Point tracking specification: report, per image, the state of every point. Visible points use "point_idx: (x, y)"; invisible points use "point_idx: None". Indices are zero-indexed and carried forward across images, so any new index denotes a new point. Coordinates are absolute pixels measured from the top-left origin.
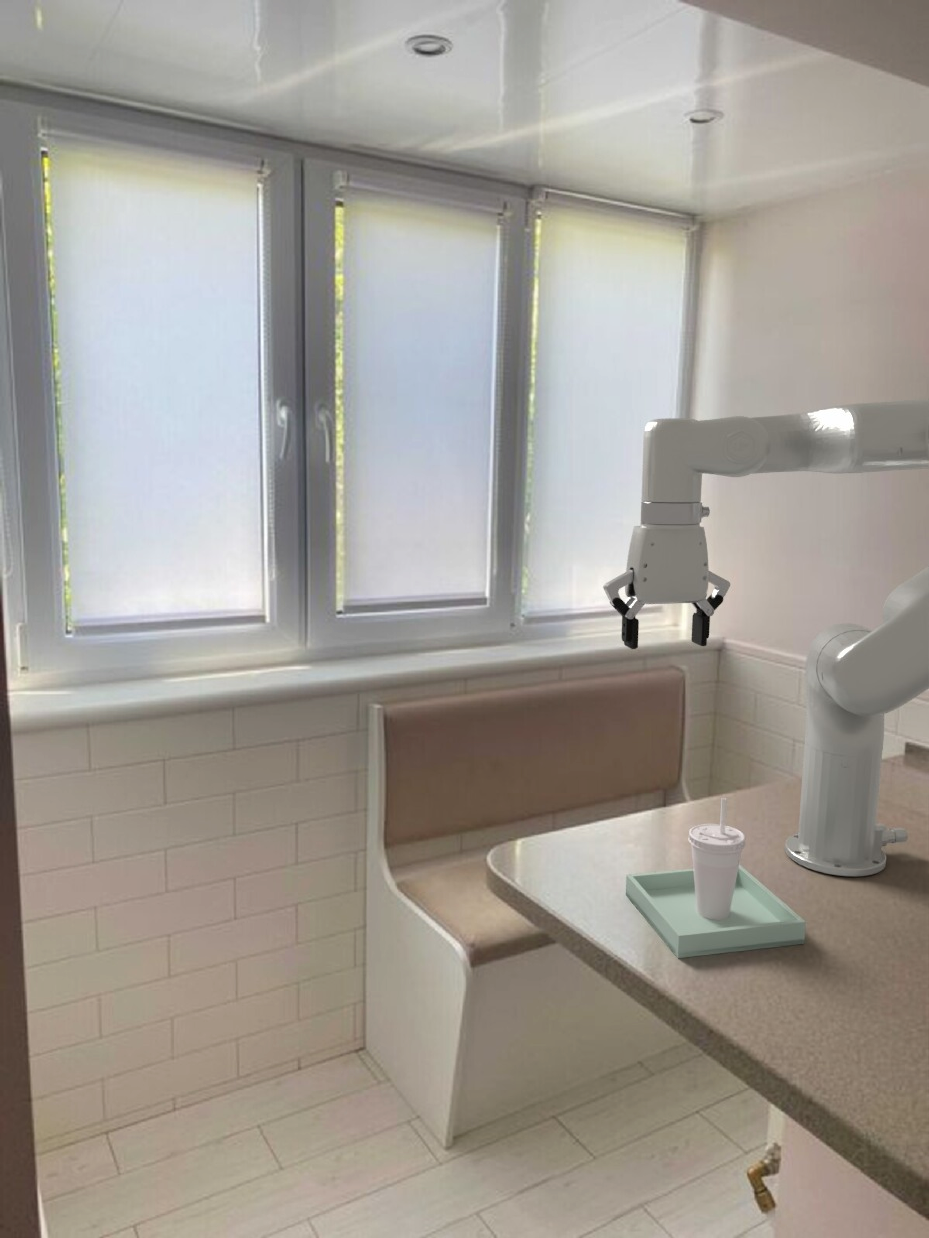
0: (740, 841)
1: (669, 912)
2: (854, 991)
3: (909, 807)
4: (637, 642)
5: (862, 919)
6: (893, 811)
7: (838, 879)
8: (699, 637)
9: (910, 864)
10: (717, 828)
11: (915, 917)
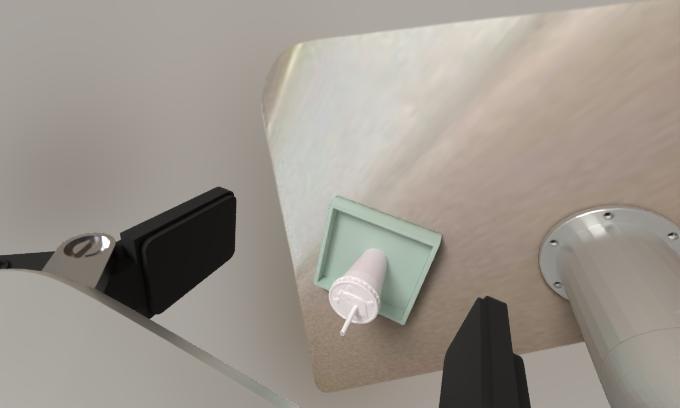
0: (359, 323)
1: (345, 241)
2: (389, 350)
3: None
4: (219, 265)
5: None
6: None
7: (544, 284)
8: (448, 367)
9: None
10: (358, 299)
11: (527, 350)
